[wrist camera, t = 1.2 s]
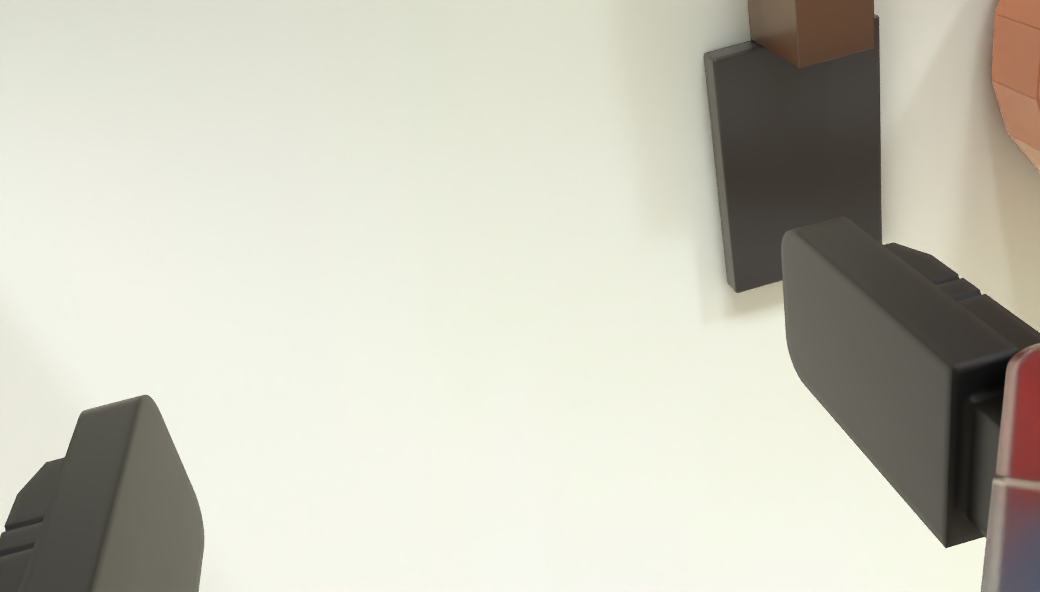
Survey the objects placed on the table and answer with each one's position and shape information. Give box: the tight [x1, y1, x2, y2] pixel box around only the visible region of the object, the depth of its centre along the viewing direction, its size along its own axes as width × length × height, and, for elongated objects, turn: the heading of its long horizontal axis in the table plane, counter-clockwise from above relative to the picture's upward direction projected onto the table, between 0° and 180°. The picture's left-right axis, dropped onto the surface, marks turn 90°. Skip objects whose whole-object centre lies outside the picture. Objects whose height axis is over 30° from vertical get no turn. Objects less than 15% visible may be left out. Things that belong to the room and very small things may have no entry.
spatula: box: [704, 0, 882, 293], centre depth 28 cm, size 17×5×3 cm, turn 11°
